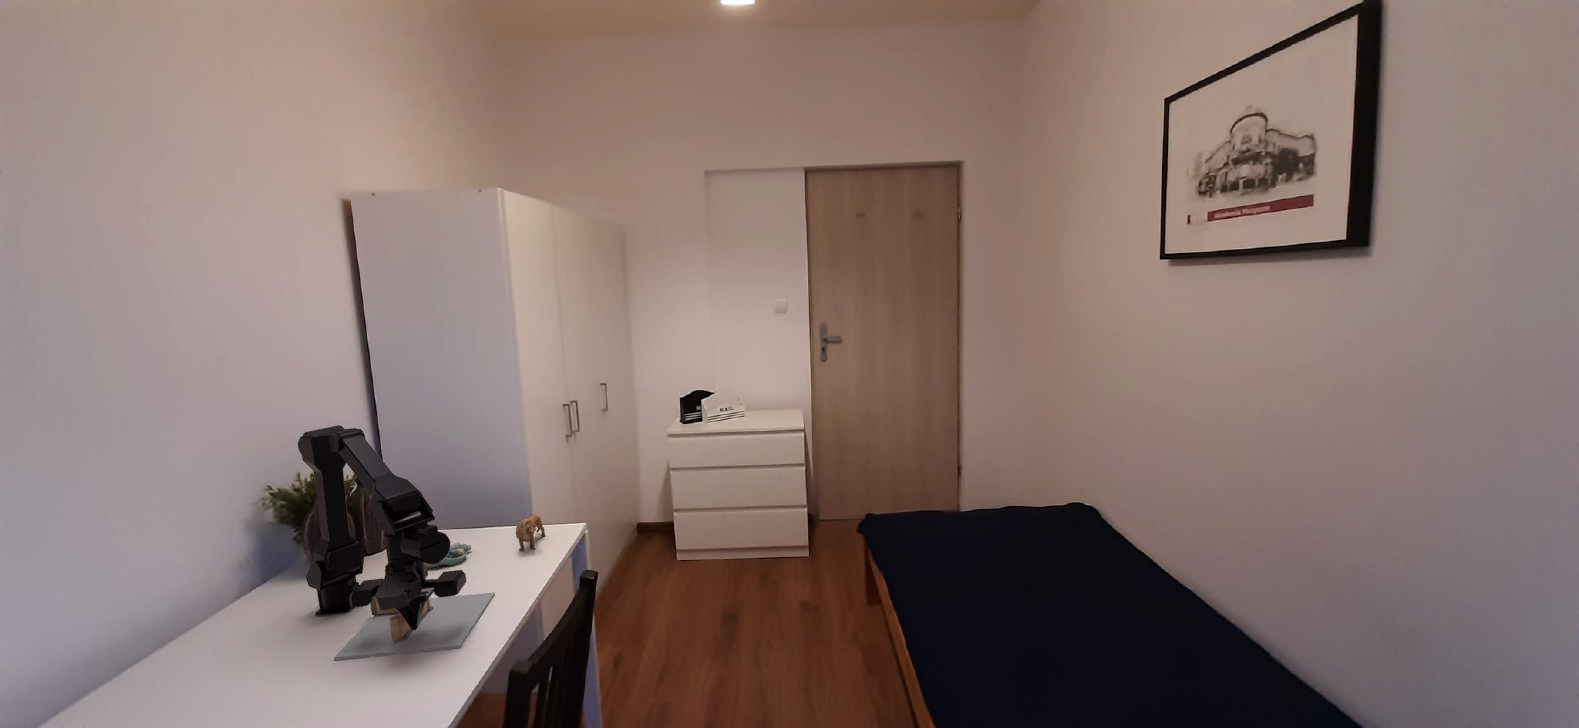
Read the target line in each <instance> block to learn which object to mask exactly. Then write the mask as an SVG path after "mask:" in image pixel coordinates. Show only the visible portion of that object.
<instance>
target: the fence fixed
mask: <svg viewBox="0 0 1579 728" xmlns="http://www.w3.org/2000/svg"><path fill="white" fill-rule="evenodd" d="M372 598H373V600H372V601H371V603H370V604H369V606H370V611H371V616H374V615H377V614H386V613H397V612H399V611H398V610H397V609H395V608H391V609H387V610H381V609H380V607H379V605H378V602H377V600H376V598H375V597H372Z"/></svg>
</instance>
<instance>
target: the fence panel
mask: <svg viewBox="0 0 1579 728" xmlns="http://www.w3.org/2000/svg"><path fill="white" fill-rule="evenodd" d="M428 609H430V601H429V599H428V600H427V601H426V603H425V606H424V609H423V613H422V616H423V615H424V613H425V612H426V611H427V610H428ZM422 616H421V617H422ZM389 620H390V628H391V635H392V641H393V642H397V641H399V640H401V639H402V637H403V636H404V635H405V634H406V633H407V632H408V631H409V629H410V626H409V625H408V623H407V622H406V620H405V619H404V617H403V616H402V614H401V613H400V612H399V613H398V614H397V615H395V616H392V617H390V618H389Z"/></svg>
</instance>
